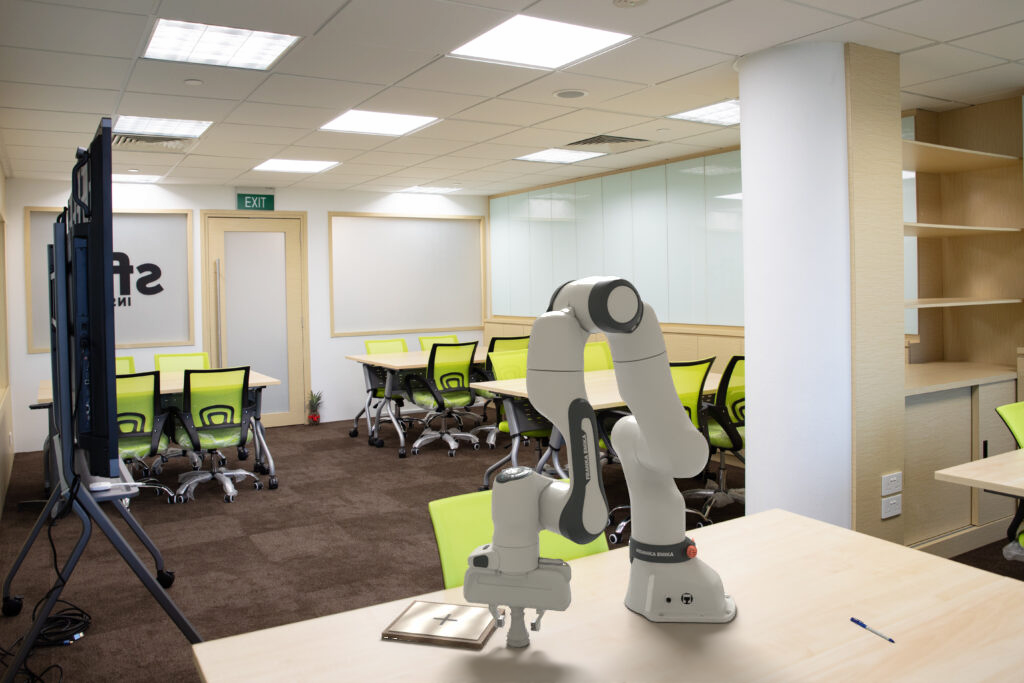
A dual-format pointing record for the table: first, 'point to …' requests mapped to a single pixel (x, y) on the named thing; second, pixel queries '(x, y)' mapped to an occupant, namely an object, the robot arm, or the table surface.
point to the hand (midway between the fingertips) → (517, 628)
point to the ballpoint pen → (870, 629)
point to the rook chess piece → (517, 628)
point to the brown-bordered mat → (443, 624)
